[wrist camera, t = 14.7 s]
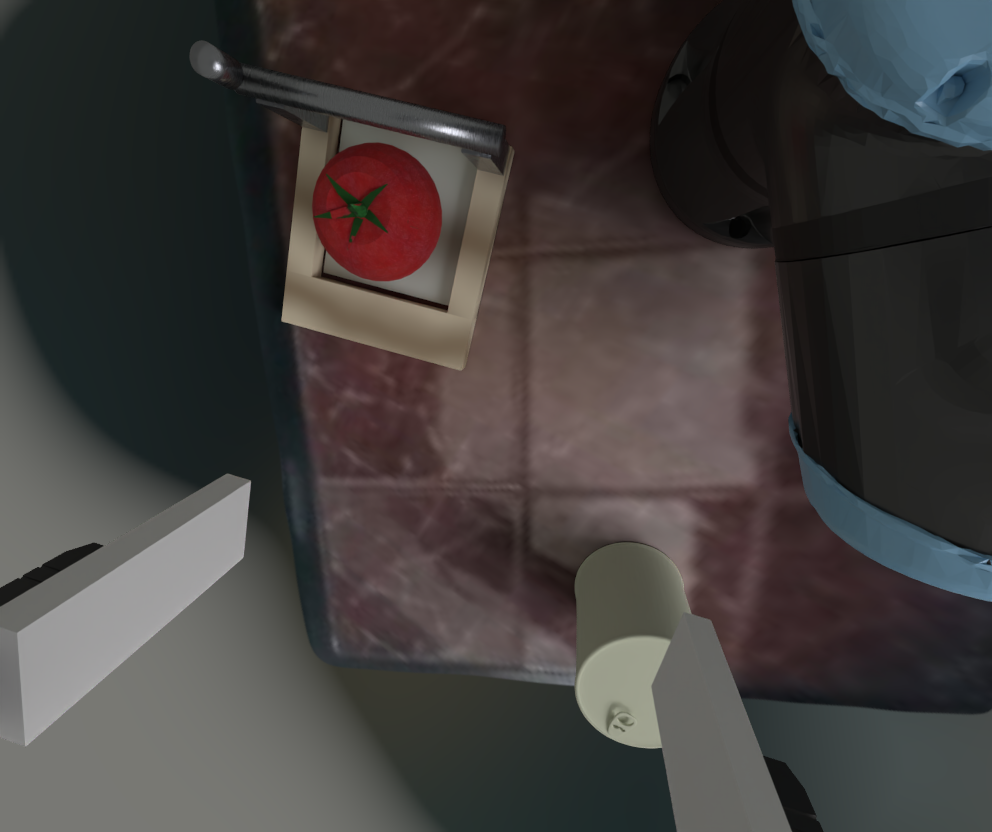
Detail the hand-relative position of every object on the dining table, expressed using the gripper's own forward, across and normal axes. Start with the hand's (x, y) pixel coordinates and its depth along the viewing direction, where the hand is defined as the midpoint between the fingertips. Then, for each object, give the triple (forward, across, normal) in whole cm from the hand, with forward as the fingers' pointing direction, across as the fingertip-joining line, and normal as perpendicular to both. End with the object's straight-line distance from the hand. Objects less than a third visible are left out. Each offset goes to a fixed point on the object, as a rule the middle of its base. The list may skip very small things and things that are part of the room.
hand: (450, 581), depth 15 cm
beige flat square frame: (+27, -13, +8) cm, 31 cm away
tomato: (+27, -13, +10) cm, 31 cm away
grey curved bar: (+25, -13, +15) cm, 32 cm away
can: (+27, +13, -15) cm, 34 cm away
